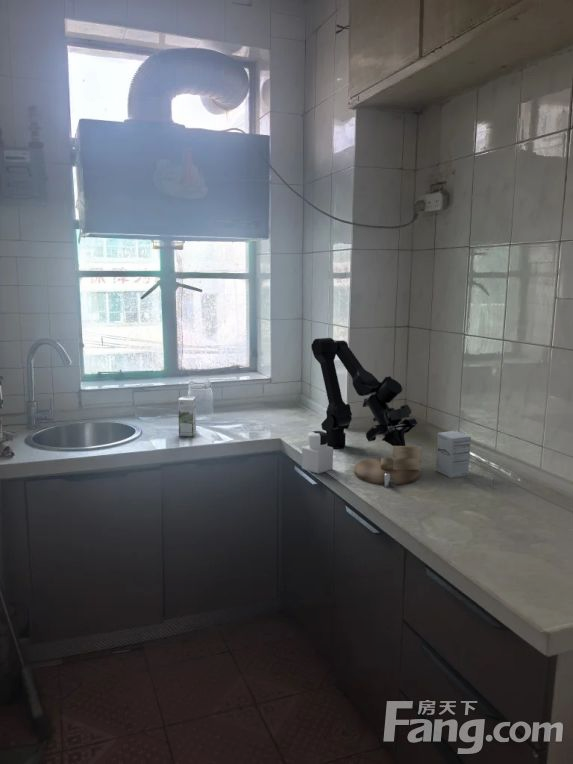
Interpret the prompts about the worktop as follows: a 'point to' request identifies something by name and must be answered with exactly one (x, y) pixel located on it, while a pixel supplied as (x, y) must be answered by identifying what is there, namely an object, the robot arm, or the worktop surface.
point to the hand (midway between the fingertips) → (404, 452)
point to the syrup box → (187, 416)
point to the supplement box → (453, 453)
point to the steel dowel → (387, 480)
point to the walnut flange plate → (379, 475)
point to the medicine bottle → (317, 453)
